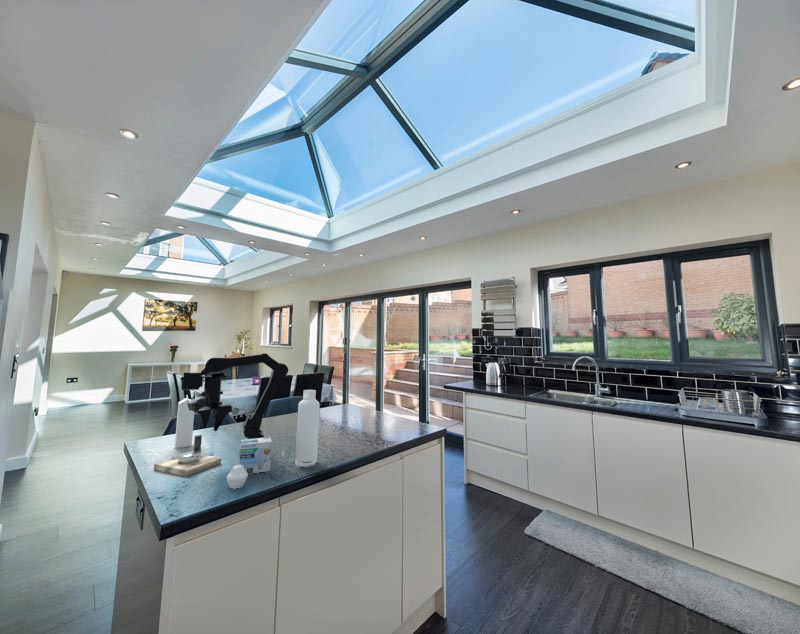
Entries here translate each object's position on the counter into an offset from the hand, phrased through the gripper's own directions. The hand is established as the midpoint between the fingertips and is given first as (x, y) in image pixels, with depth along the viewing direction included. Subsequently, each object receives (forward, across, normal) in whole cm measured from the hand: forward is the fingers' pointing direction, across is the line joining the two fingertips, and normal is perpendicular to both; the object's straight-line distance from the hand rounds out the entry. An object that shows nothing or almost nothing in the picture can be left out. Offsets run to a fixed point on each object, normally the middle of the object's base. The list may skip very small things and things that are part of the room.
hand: (209, 429), depth 128 cm
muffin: (+12, +31, -9) cm, 34 cm away
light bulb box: (+12, +24, +3) cm, 27 cm away
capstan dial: (+10, -2, -5) cm, 11 cm away
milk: (+12, -28, +5) cm, 31 cm away
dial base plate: (+12, 0, -7) cm, 14 cm away
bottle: (+12, +34, +18) cm, 41 cm away
